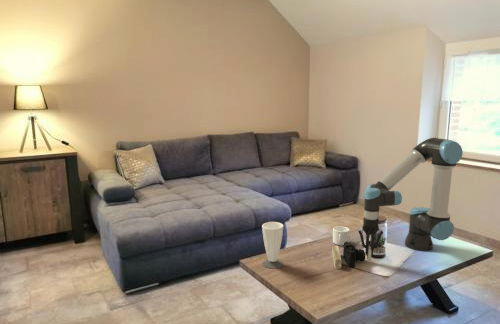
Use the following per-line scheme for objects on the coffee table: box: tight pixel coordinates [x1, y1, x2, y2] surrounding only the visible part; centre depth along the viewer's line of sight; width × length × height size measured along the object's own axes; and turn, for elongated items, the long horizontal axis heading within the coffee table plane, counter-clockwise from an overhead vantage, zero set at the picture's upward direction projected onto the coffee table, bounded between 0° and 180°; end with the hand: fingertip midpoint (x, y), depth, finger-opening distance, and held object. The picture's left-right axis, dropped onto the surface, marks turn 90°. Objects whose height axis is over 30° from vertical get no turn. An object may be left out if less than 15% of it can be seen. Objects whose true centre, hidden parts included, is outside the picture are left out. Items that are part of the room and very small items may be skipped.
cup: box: [261, 221, 284, 269], centre depth 197 cm, size 12×12×22 cm
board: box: [331, 245, 342, 270], centre depth 201 cm, size 3×18×5 cm, turn 172°
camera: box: [342, 241, 366, 269], centre depth 199 cm, size 14×11×10 cm
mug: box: [332, 225, 351, 247], centre depth 223 cm, size 12×10×9 cm
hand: (368, 259), depth 199 cm, fingers closed
